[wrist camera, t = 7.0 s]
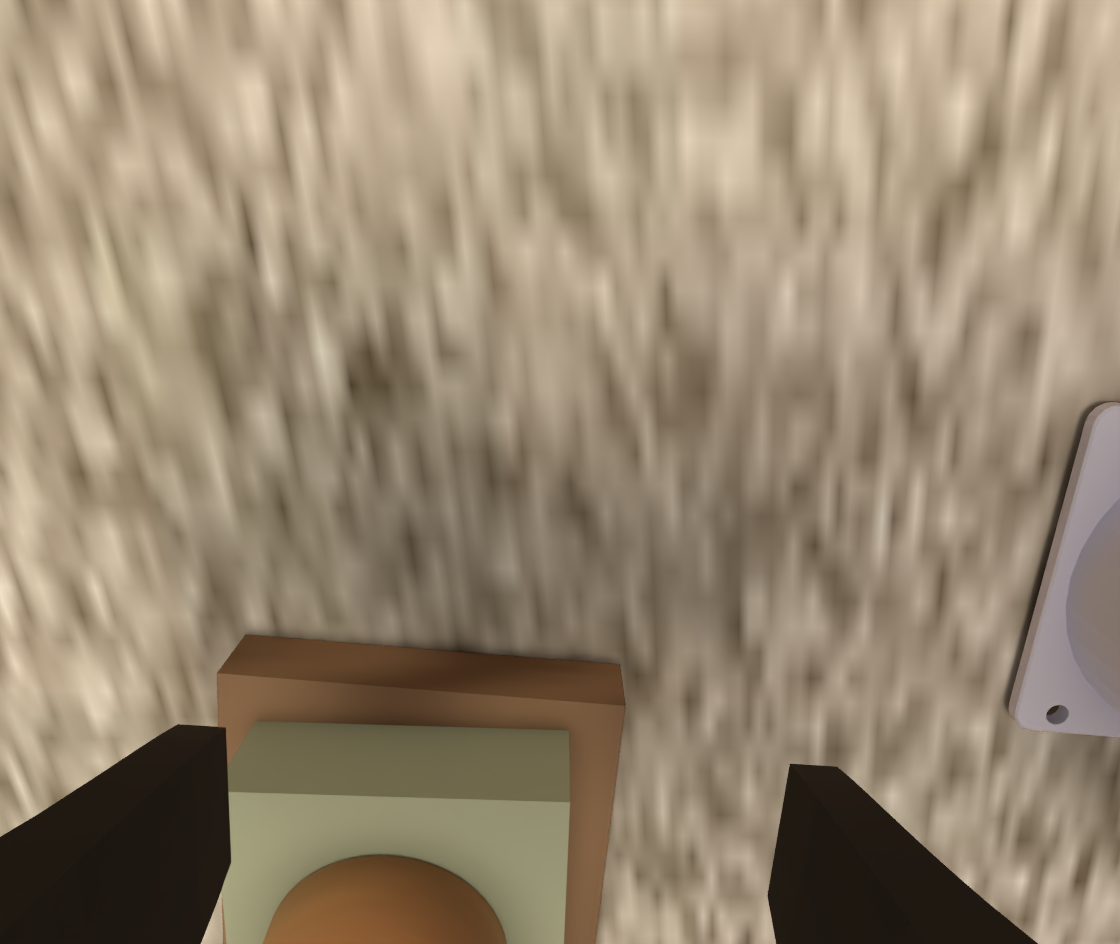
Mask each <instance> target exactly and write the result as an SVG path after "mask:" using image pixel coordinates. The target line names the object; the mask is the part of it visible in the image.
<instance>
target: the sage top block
mask: <svg viewBox="0 0 1120 944" xmlns="http://www.w3.org/2000/svg"><path fill="white" fill-rule="evenodd" d="M228 792H229V817H230V842H231V865H230V867H229V870H228V873H227V876H226V878H225V881H224V884H223V887H222V899H223V910H224V921H225V932H226V943H227V944H262V943H263V941H264V938H265V936H266V933H267V931H268V928H269V926H270V923H271V921H272V918H273V916H274V914H275V912H276V910H277V908H278V906H279V905H280V903H281V902H282V900H283V899H284V898H285V896H286V895H287V894H288V893H289V892H290V891H291V890H292V889H293V888H294V887H295V886H296V885H297V884H298V883H299V882H301V881H302V880H304V879H305V878H306V877H308V876H309V875H311V874H313V873H314V872H316V871H318V870H320V869H322V868H324V867H327V866H329V865H332V864H334V863H337V862H341V861H344V860H348V859H352V858H359V857H366V856H395V857H404V858H409V859H414V860H419V861H422V862H425V863H429V864H432V865H435V866H437V867H439V868H442V869H444V870H446V871H448V872H450V873H452V874H454V875H455V876H457V877H459V878H460V879H462V880H463V881H465V882H466V883H467V884H469V885H470V886H471V887H473V888H474V889H475V890H476V891H477V892H478V893H479V894H480V895H481V896H482V897H483V898H484V899H485V900H486V901H487V903H488V904H489V905H490V906H491V908H492V909H493V911H494V912H495V914H496V916H497V917H498V919H499V921H500V923H501V926H502V928H503V931H504V933H505V938H506V942H507V944H564V930H565V907H566V884H567V861H568V838H569V816H570V761H569V730H540V729H506V728H472V727H437V726H403V725H369V724H335V723H300V722H266V721H255V722H254V724H253V726H252V727H251V729H250V731H249V732H248V734H247V736H246V737H245V739H244V740H243V742H242V744H241V745H240V747H239V749H238V750H237V752H236V754H235V755H234V757H233V759H232V760H231V762H230V764H229V765H228Z"/></svg>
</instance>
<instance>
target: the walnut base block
mask: <svg viewBox="0 0 1120 944" xmlns="http://www.w3.org/2000/svg"><path fill="white" fill-rule="evenodd" d="M217 694H218V727H226V743H227V767H228V765H229V764H230V762H231V760H232V759H233V757H234V755H235V754H236V752H237V750H238V749H239V747H240V745H241V744H242V742H243V740H244V739H245V737H246V736H247V734H248V732H249V731H250V729H251V727H252V726H253V724H254V722H255V721H266V722H300V723H335V724H369V725H403V726H437V727H472V728H506V729H540V730H569V761H570V816H569V838H568V861H567V884H566V907H565V930H564V944H595V942H596V935H597V927H598V919H599V911H600V903H601V895H602V887H603V879H604V872H605V864H606V856H607V848H608V840H609V832H610V824H611V816H612V809H613V801H614V793H615V785H616V777H617V769H618V761H619V753H620V746H621V738H622V730H623V722H624V714H625V698H624V691H623V683H622V676H621V668H620V665H617V664H605V663H593V662H580V661H568V660H555V659H543V658H531V657H518V656H506V655H494V654H481V653H469V652H456V651H444V650H432V649H419V648H407V647H394V646H382V645H370V644H357V643H345V642H332V641H320V640H308V639H295V638H283V637H270V636H258V635H245V636H244V638H243V639H242V640H241V642H240V643H239V644H238V646H237V647H236V648H235V650H234V651H233V652H232V654H231V655H230V656H229V658H228V659H227V660H226V662H225V663H224V665H223V666H222V667H221V669H220V670H219V671H218V673H217ZM222 914H223V944H227V943H226V932H225V921H224V910H223V899H222Z"/></svg>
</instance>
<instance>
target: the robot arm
mask: <svg viewBox="0 0 1120 944" xmlns="http://www.w3.org/2000/svg"><path fill="white" fill-rule="evenodd" d="M1056 705H1059V708H1058V710H1057V711H1056V712H1055V713H1053V714H1052V715H1046V714H1047V712H1048V710H1049V709H1050V708H1052V707H1053V706H1056ZM1009 712H1010V715H1011V717H1012V718H1013V719H1014V720H1015V721H1016V722H1017V724H1019V725H1020V726H1021V727H1022V728H1024V729H1028V730H1034V731H1046V732H1059V733H1071V734H1083V735H1095V736H1107V737H1119V738H1120V403H1119V402H1109V403H1103V404H1101V405H1099V406H1097V407H1096V408H1095V409H1094V410H1093V411H1092V412H1091V413H1090V414H1089V415H1088V417H1087V419H1086V421H1085V425H1084V428H1083V432H1082V436H1081V439H1080V443H1079V447H1078V450H1077V454H1076V458H1075V462H1074V465H1073V469H1072V473H1071V476H1070V480H1069V484H1068V487H1067V491H1066V495H1065V498H1064V502H1063V506H1062V510H1061V513H1060V517H1059V521H1058V524H1057V528H1056V532H1055V535H1054V539H1053V543H1052V546H1051V550H1050V554H1049V558H1048V561H1047V565H1046V569H1045V572H1044V576H1043V580H1042V583H1041V587H1040V591H1039V594H1038V598H1037V602H1036V606H1035V609H1034V613H1033V617H1032V620H1031V624H1030V628H1029V631H1028V635H1027V639H1026V642H1025V646H1024V650H1023V654H1022V657H1021V661H1020V665H1019V668H1018V672H1017V676H1016V679H1015V683H1014V687H1013V691H1012V694H1011V698H1010V702H1009ZM230 865H231V842H230V817H229V792H228V767H227V743H226V727H210V726H195V725H179V724H178V725H176V726H174V727H173V728H171V729H169V730H167V731H166V732H164V733H162V734H161V735H159V736H158V737H156V738H154V739H153V740H151V741H150V742H148V743H147V744H145V745H144V746H142V747H140V748H139V749H137V750H136V751H134V752H133V753H131V754H130V755H128V756H127V757H125V758H124V759H122V760H121V761H119V762H118V763H116V764H115V765H113V766H112V767H110V768H109V769H107V770H106V771H104V772H103V773H101V774H100V775H98V776H97V777H95V778H93V779H92V780H90V781H89V782H87V783H86V784H84V785H83V786H81V787H80V788H78V789H76V790H75V791H73V792H72V793H70V794H69V795H67V796H66V797H64V798H63V799H61V800H59V801H58V802H56V803H55V804H53V805H52V806H50V807H49V808H47V809H46V810H44V811H42V812H41V813H39V814H38V815H36V816H35V817H33V818H31V819H30V820H28V821H26V822H25V823H23V824H21V825H19V826H18V827H16V828H14V829H13V830H11V831H9V832H8V833H6V834H4V835H3V836H1V837H0V944H200V943H201V941H202V939H203V937H204V934H205V931H206V929H207V926H208V924H209V921H210V919H211V916H212V914H213V911H214V908H215V906H216V903H217V900H218V898H219V895H220V892H221V889H222V887H223V884H224V881H225V878H226V876H227V873H228V870H229V867H230ZM768 900H769V906H770V911H771V917H772V922H773V928H774V933H775V939H776V944H1038V943H1036V942H1035V941H1034V940H1033V939H1031V938H1030V937H1029V936H1028V935H1026V934H1025V933H1024V932H1023V931H1022V930H1020V929H1019V928H1018V927H1017V926H1015V925H1014V924H1013V923H1012V922H1011V921H1009V920H1008V919H1007V918H1006V917H1004V916H1003V915H1002V914H1001V913H999V912H998V911H997V910H996V909H995V908H993V907H992V906H991V905H990V904H988V903H987V902H986V901H985V900H984V899H983V898H981V897H980V896H979V895H978V894H977V893H976V892H974V891H973V890H972V889H971V888H970V887H969V886H967V885H966V884H965V883H964V882H963V881H962V880H961V879H959V878H958V877H957V876H956V875H955V874H954V873H953V872H952V871H950V870H949V869H948V868H947V867H946V866H945V865H944V864H943V863H941V862H940V861H939V860H938V859H937V858H936V857H935V856H934V855H933V854H932V853H930V852H929V851H928V850H927V849H926V848H925V847H924V846H923V845H922V844H921V843H920V842H918V841H917V840H916V839H915V838H914V837H913V836H912V835H911V834H910V833H909V832H908V831H907V830H906V829H904V828H903V827H902V826H901V825H900V824H899V823H898V822H897V821H896V820H895V819H894V818H893V817H892V816H891V815H890V814H888V813H887V812H886V811H885V810H884V809H883V808H882V807H881V806H880V805H879V804H878V803H877V802H876V801H875V800H874V799H872V798H871V797H870V796H869V795H868V794H867V793H866V792H865V791H864V790H863V789H862V788H861V787H860V786H859V785H857V784H856V783H855V782H854V781H853V780H852V779H851V778H850V777H849V776H847V775H846V774H845V773H844V772H843V771H842V770H840V769H839V768H838V767H832V766H816V765H801V764H790V767H789V772H788V778H787V784H786V790H785V796H784V802H783V808H782V814H781V819H780V825H779V831H778V837H777V843H776V849H775V855H774V861H773V866H772V872H771V878H770V884H769V890H768Z"/></svg>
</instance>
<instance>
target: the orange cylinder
mask: <svg viewBox="0 0 1120 944" xmlns="http://www.w3.org/2000/svg"><path fill="white" fill-rule="evenodd" d="M262 944H507V942H506V938H505V933H504V931H503V928H502V926H501V923H500V921H499V919H498V917H497V916H496V914H495V912H494V911H493V909H492V908H491V906H490V905H489V904H488V903H487V901H486V900H485V899H484V898H483V897H482V896H481V895H480V894H479V893H478V892H477V891H476V890H475V889H474V888H473V887H471V886H470V885H469V884H467V883H466V882H465V881H463V880H462V879H460V878H459V877H457V876H455V875H454V874H452V873H450V872H448V871H446V870H444V869H442V868H439V867H437V866H435V865H432V864H429V863H425V862H422V861H419V860H414V859H409V858H404V857H395V856H366V857H359V858H352V859H348V860H344V861H341V862H337V863H334V864H332V865H329V866H327V867H324V868H322V869H320V870H318V871H316V872H314V873H313V874H311V875H309V876H308V877H306V878H305V879H304V880H302V881H301V882H299V883H298V884H297V885H296V886H295V887H294V888H293V889H292V890H291V891H290V892H289V893H288V894H287V895H286V896H285V898H284V899H283V900H282V902H281V903H280V905H279V906H278V908H277V910H276V912H275V914H274V916H273V918H272V921H271V923H270V926H269V928H268V931H267V933H266V936H265V938H264V941H263V943H262Z"/></svg>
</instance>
